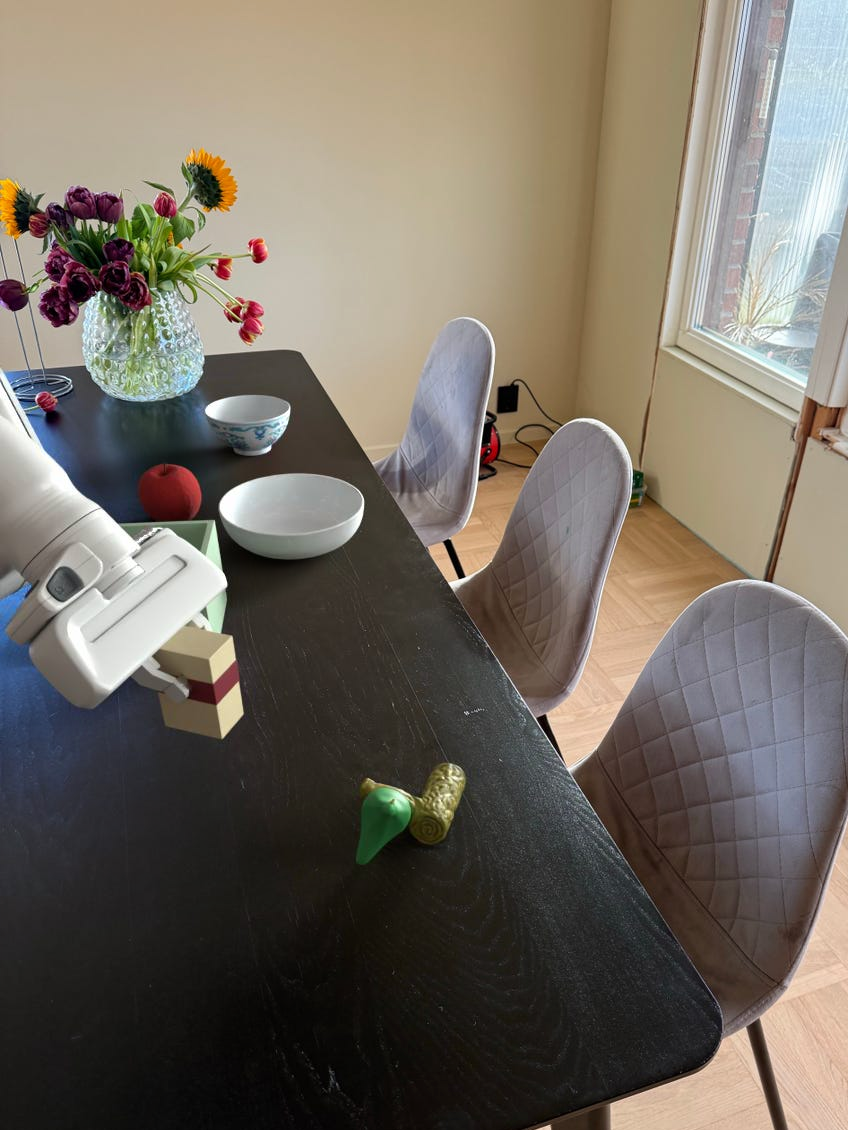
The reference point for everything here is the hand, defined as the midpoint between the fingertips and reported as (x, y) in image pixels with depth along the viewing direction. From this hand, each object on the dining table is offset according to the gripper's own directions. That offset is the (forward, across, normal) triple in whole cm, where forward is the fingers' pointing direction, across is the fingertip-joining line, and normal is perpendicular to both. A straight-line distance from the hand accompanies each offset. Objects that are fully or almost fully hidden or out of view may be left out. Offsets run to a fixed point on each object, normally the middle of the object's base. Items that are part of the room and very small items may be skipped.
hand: (203, 679), depth 80 cm
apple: (-17, -52, -37) cm, 66 cm away
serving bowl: (-2, -51, -22) cm, 55 cm away
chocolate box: (+3, 0, -4) cm, 5 cm away
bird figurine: (+24, +1, +5) cm, 25 cm away
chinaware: (-20, -82, -40) cm, 93 cm away
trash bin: (-6, -23, -25) cm, 35 cm away
